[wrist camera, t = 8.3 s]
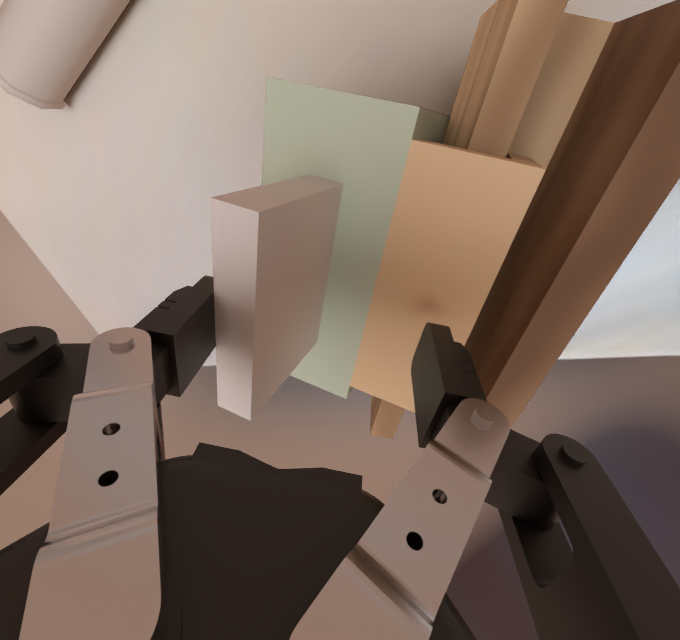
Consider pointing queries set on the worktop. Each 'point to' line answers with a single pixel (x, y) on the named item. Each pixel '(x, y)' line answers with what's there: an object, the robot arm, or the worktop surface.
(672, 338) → the worktop surface
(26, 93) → the tube
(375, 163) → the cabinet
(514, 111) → the wall board
